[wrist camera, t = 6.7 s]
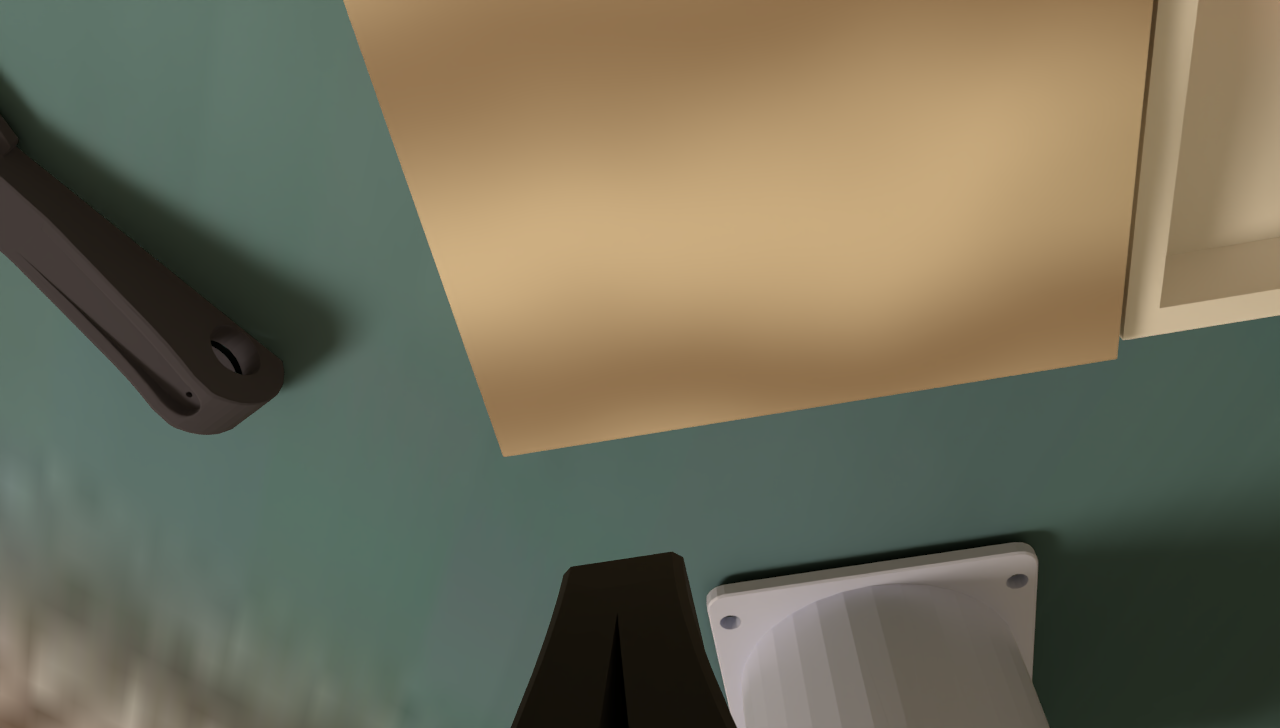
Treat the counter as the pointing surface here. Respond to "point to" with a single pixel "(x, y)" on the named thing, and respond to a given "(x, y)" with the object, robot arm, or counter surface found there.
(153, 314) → the bracket
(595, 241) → the large beige panel
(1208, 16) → the tray
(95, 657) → the counter surface
